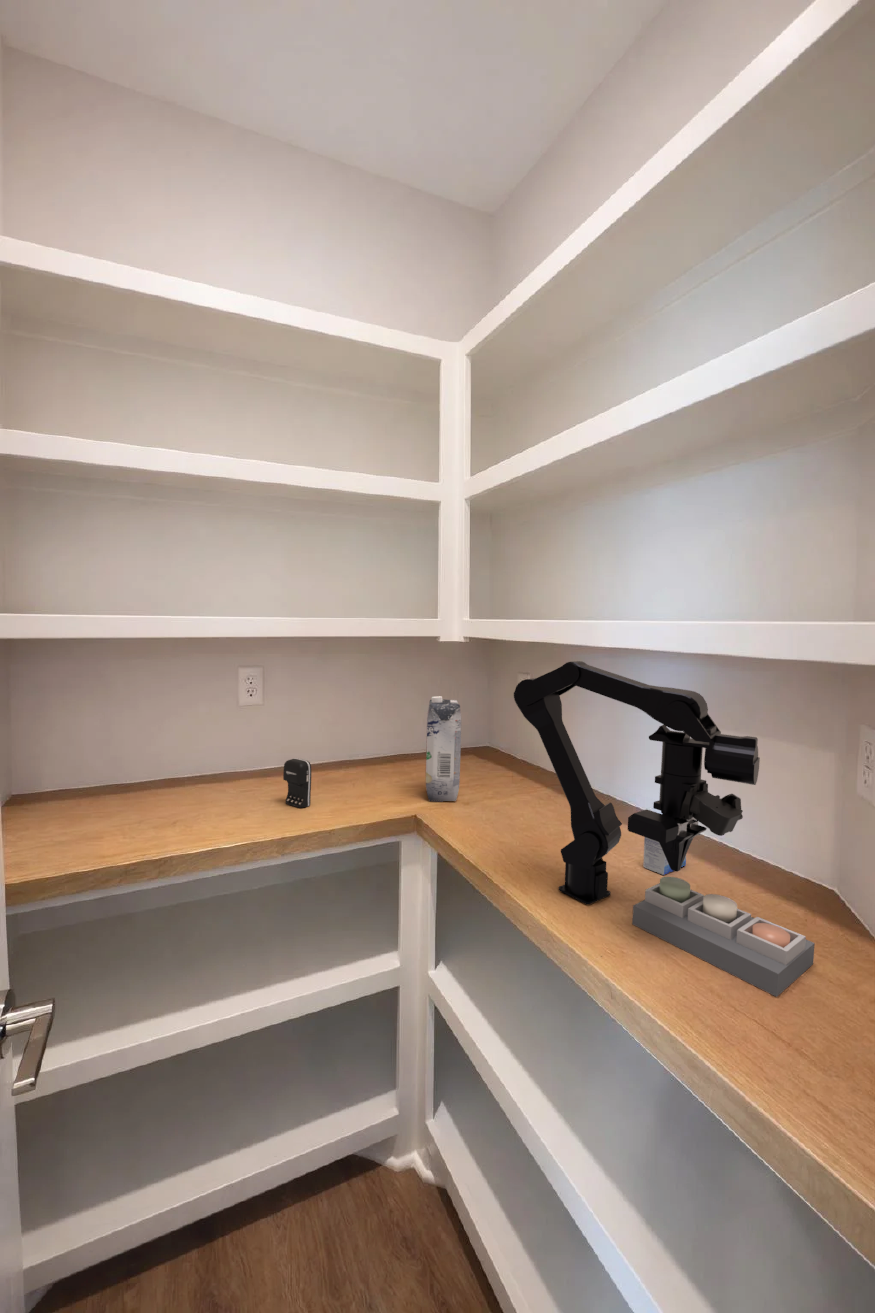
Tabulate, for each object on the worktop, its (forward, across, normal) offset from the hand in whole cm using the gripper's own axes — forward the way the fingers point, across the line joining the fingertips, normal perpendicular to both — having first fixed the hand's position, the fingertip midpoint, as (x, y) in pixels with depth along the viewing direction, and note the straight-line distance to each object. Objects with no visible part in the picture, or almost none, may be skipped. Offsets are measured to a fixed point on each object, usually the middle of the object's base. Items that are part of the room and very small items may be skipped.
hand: (675, 870), depth 87 cm
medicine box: (+9, +18, +12) cm, 23 cm away
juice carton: (+9, +8, +70) cm, 71 cm away
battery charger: (+9, -27, +84) cm, 89 cm away
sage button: (+4, 0, 0) cm, 4 cm away
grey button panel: (+8, 0, -7) cm, 11 cm away
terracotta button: (+5, 0, -14) cm, 15 cm away
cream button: (+4, 0, -7) cm, 8 cm away
